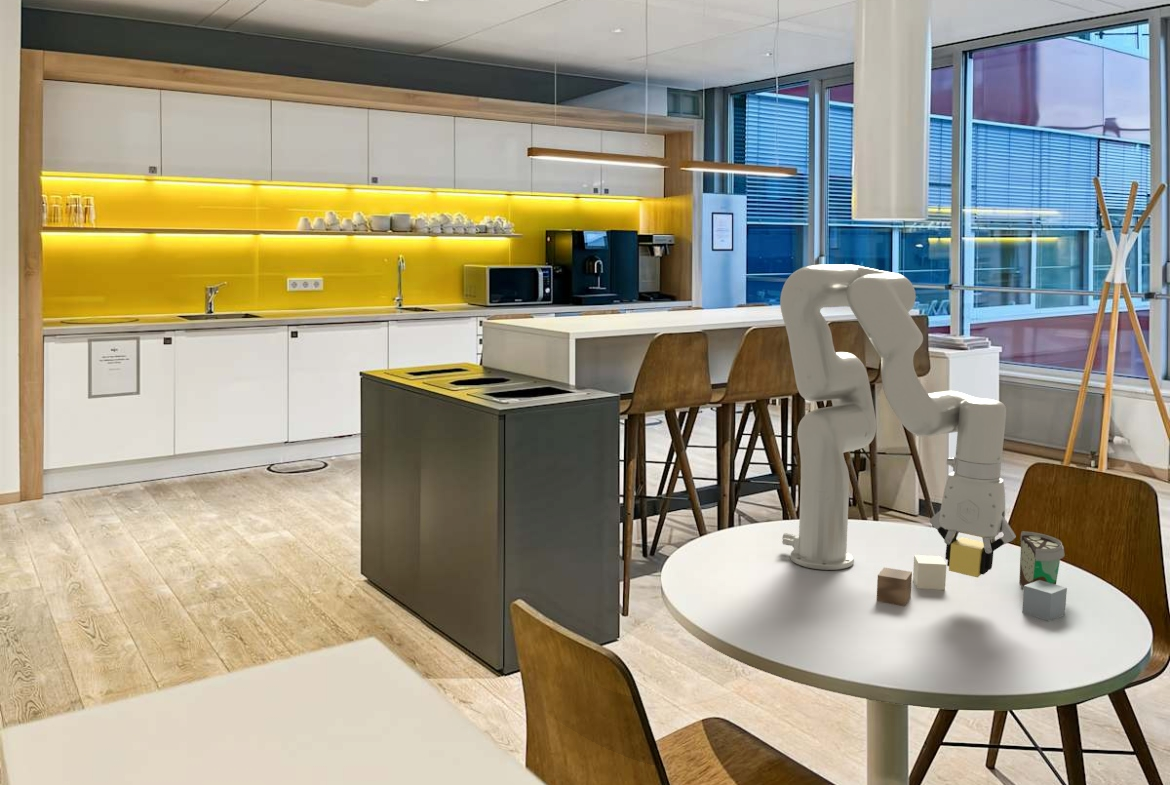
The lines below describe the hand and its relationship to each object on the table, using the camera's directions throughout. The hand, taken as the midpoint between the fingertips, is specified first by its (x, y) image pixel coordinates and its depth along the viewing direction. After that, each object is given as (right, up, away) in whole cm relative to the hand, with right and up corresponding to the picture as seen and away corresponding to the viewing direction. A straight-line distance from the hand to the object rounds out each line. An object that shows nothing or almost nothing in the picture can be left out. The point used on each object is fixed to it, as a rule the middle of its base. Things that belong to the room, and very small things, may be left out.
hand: (968, 567), depth 175 cm
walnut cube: (-12, -7, +4) cm, 14 cm away
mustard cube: (0, -1, 0) cm, 1 cm away
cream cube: (-3, -5, +12) cm, 13 cm away
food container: (+17, -6, +8) cm, 20 cm away
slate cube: (+12, -8, -3) cm, 15 cm away
